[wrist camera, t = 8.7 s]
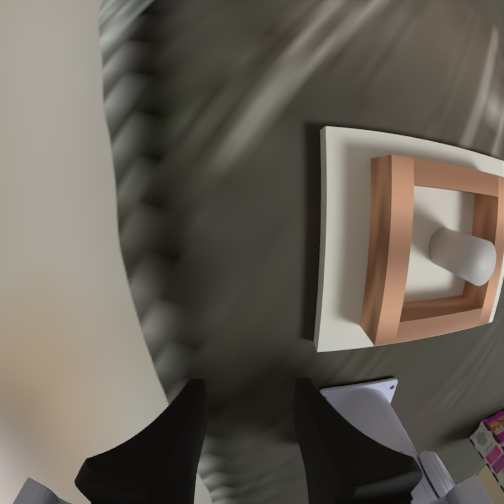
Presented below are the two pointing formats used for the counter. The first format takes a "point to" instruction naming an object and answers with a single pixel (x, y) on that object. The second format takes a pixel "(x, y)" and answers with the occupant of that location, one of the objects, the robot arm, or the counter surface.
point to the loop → (399, 244)
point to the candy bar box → (491, 444)
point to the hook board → (423, 231)
